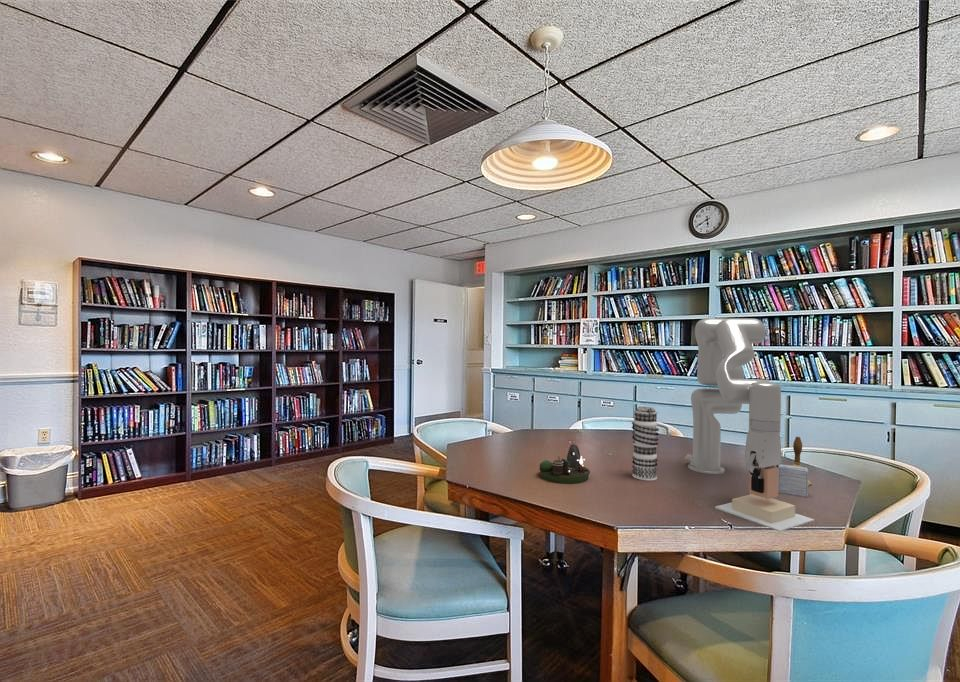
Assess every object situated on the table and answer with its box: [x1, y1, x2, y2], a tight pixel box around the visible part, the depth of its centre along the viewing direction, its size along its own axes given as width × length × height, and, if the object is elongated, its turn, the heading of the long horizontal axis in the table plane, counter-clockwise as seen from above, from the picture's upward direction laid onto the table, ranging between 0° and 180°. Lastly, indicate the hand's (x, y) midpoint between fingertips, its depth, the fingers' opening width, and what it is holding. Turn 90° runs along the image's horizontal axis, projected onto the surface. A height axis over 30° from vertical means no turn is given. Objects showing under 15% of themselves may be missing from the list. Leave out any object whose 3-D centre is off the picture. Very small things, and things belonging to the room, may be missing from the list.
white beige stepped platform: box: [714, 493, 815, 532], centre depth 126 cm, size 18×16×4 cm
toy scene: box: [539, 443, 591, 484], centre depth 161 cm, size 18×18×11 cm
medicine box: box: [778, 463, 809, 498], centre depth 145 cm, size 8×4×9 cm, turn 56°
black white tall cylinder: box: [631, 406, 660, 481], centre depth 161 cm, size 9×9×25 cm
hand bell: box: [790, 436, 812, 487], centre depth 157 cm, size 8×8×16 cm
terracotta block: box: [748, 464, 779, 499], centre depth 126 cm, size 5×5×8 cm
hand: (763, 489), depth 126 cm, fingers closed on terracotta block, 5 cm apart
